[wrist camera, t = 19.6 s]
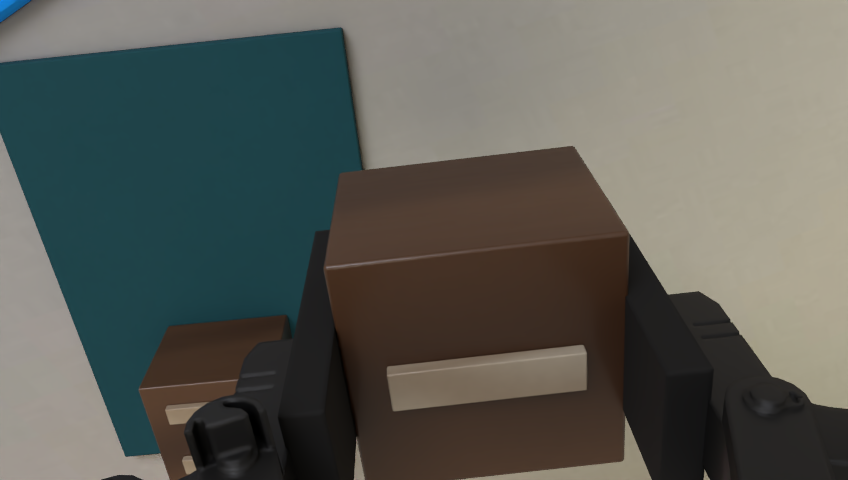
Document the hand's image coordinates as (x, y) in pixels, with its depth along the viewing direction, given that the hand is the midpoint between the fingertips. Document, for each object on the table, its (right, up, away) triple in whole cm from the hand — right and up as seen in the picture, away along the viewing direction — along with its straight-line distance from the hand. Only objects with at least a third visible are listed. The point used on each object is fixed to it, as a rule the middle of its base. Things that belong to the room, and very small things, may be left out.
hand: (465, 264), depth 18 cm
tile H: (-10, -5, +17) cm, 20 cm away
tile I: (0, 0, 0) cm, 0 cm away
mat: (-10, -1, +15) cm, 18 cm away
